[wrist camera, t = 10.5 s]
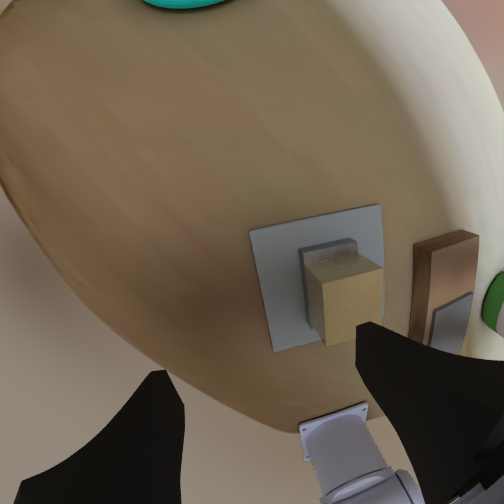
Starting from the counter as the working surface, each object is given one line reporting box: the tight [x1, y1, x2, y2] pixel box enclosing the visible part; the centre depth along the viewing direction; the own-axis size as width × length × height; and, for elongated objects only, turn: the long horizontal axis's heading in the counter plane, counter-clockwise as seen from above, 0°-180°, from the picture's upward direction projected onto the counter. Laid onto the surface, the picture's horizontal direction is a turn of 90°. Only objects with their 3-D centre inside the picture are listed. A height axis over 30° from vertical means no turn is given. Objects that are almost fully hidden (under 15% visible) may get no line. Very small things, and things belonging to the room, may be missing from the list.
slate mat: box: [249, 204, 385, 352], centre depth 20 cm, size 10×10×1 cm
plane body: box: [408, 230, 479, 355], centre depth 22 cm, size 18×7×3 cm, turn 11°
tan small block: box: [298, 238, 383, 347], centre depth 17 cm, size 6×4×5 cm, turn 10°
